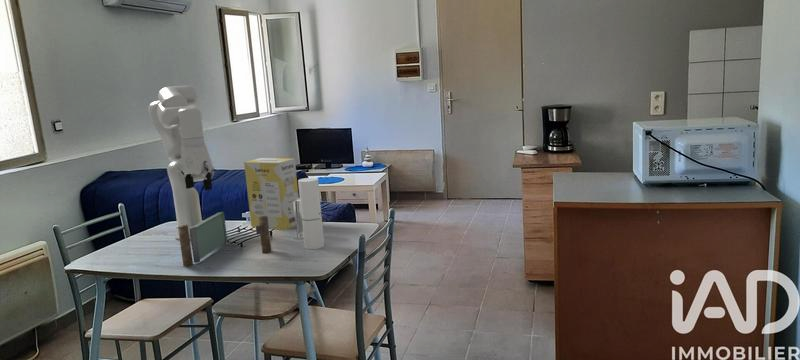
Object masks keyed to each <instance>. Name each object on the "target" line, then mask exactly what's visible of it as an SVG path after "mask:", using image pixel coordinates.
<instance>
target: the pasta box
mask: <svg viewBox="0 0 800 360" xmlns="http://www.w3.org/2000/svg"><path fill="white" fill-rule="evenodd" d="M243 164H244V172H245V180H246V188H247V189H246V190H247V198H248V209H249V215H250V225H251V228H256V226H259V219H258V217H261V216H267V217H268V226H269V230H270V229H271V230H272V229H273V230H283V231H287V230H290V229H291V228H293V227H295V226H296V227H297V224H296V220H295V217H294V211H293V200H294V199H296V198H300V196H299V185H298V180H297V168H296V167H297V166H296V159H295V158H284V157H283V158H282V157H281V158H279V157H278V158H277V157H258V158H256V159H251V160H247V161H244V163H243Z"/></svg>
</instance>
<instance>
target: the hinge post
mask: <svg viewBox="0 0 800 360" xmlns="http://www.w3.org/2000/svg"><path fill="white" fill-rule="evenodd" d="M177 226H178V225H177ZM177 231H178V232H177V233H179V239H180V240H179V245H180V252H181V253H180V254H181V258H182V266H183V267H190V266H191V267H192V266H193V265H194V259H193V252H192V245H191V239H190V238H189V231H188V225H180V226H178V229H177Z"/></svg>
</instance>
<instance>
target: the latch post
mask: <svg viewBox="0 0 800 360" xmlns="http://www.w3.org/2000/svg"><path fill="white" fill-rule="evenodd" d="M258 219H259V226H256V227H255V230H256V231H255V233H256V235H257V236H260V243H261V252H262V253H263V254H268V253H271V252H272V245H271V237H270V229H269V226H268V217H267V216H261V217H258Z"/></svg>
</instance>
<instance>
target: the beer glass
mask: <svg viewBox="0 0 800 360" xmlns="http://www.w3.org/2000/svg"><path fill="white" fill-rule="evenodd" d="M293 211H294V217H295V220H296V224H297V225H296V227H297V231H296V232H297V235H296V237H297V239H301V240H304V235H303V225H302V215H301V204H300V197H299V198H296V199H294V200H293Z"/></svg>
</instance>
